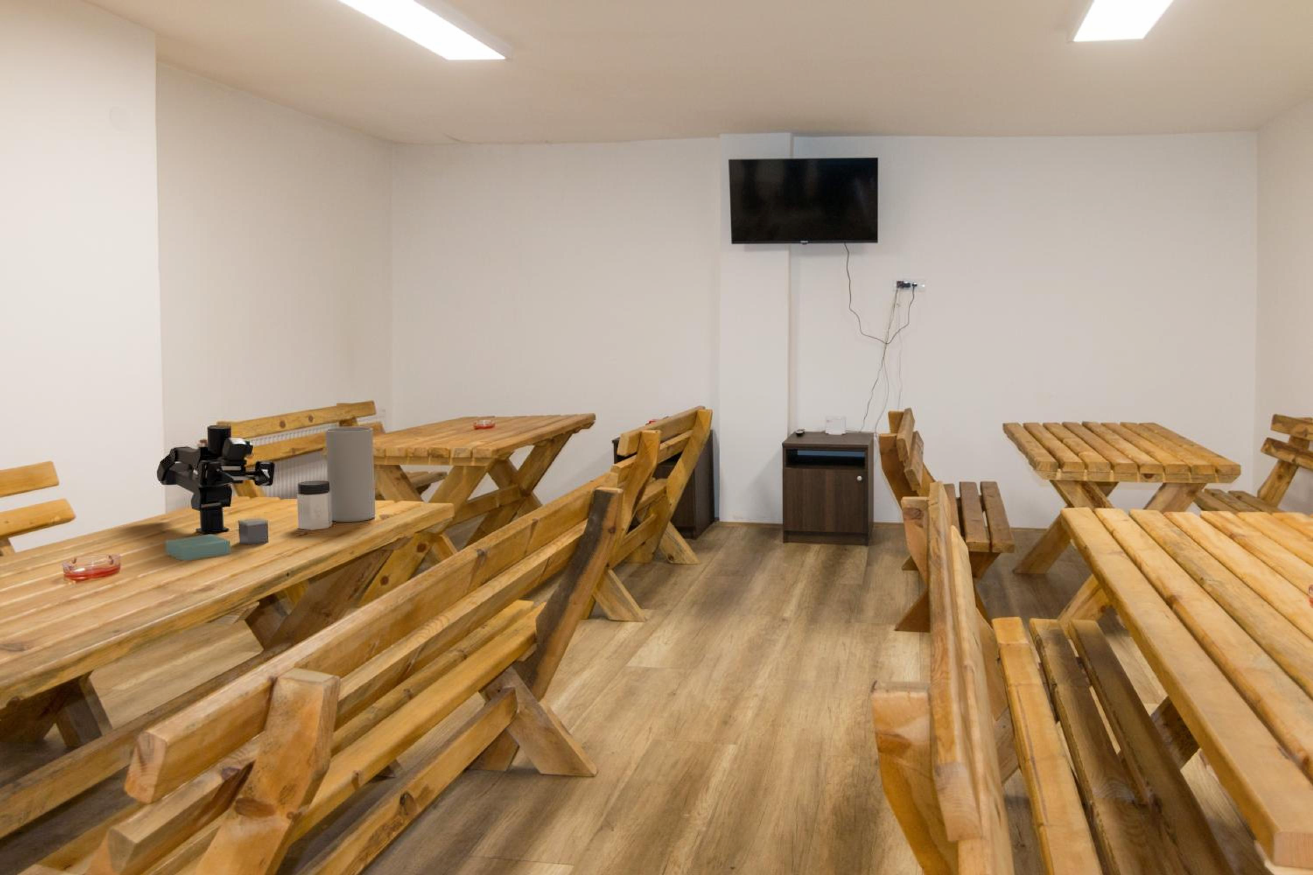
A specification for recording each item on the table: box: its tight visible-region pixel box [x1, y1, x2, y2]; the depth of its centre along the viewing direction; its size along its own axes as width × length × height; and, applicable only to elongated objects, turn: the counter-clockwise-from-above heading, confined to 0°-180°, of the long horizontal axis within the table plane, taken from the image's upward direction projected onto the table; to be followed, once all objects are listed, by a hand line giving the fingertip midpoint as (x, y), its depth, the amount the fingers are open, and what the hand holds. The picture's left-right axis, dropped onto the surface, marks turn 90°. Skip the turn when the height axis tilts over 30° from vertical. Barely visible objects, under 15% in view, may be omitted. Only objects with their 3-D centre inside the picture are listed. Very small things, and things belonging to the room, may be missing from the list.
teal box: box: [165, 533, 231, 562], centre depth 262 cm, size 11×11×4 cm
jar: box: [296, 480, 333, 531], centre depth 293 cm, size 9×8×12 cm
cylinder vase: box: [324, 426, 376, 523], centre depth 304 cm, size 12×12×25 cm
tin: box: [237, 517, 269, 546], centre depth 274 cm, size 5×5×6 cm
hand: (251, 480), depth 268 cm, fingers open, 9 cm apart
